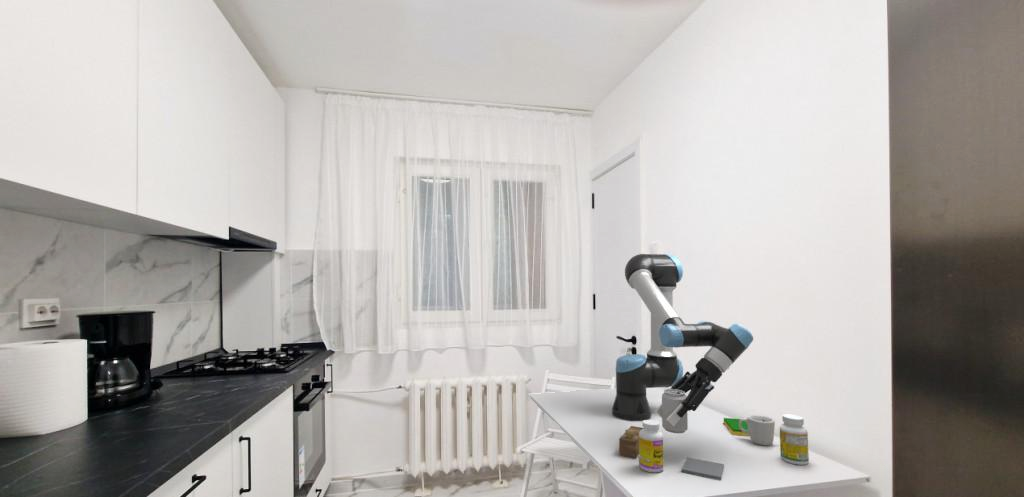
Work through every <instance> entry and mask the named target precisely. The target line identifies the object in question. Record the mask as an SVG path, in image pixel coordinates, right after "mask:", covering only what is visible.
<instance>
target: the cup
mask: <svg viewBox="0 0 1024 497" xmlns="http://www.w3.org/2000/svg"><path fill="white" fill-rule="evenodd" d="M740 419H741V420H740V421H739V428H740V430H741V431H742V432H744V433H747V434H749V435H750V436H749V438H750V440H751V442H753V443H754V444H757V445H758V446H771V445H773V443H774V438H775V436H774V435H775V425H776V421H775V419H774V418H772V417H769V416H765V415H760V414H757V415H756V414H751V415H748V416H747V417H746V418H745V417H744V418H740ZM742 422H746V423H747V425H748V429H747V430H744V429H743V427H742Z"/></svg>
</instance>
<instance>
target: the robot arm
mask: <svg viewBox="0 0 1024 497" xmlns="http://www.w3.org/2000/svg"><path fill="white" fill-rule="evenodd" d="M683 270H684V269H683V265H682V263H681V261H680V260H679V259H678V257H676V256H675V255H674V254H673V255H672V254H665V253H664V254H662V253H661V254H660V253H659V254H656V253H655V254H654V253H651V254H649V253H639V254H636V255H634V256H632V257H631V258H629V260H628V261H627V263H626V264H625V267H624V276H625V279H626V282H627V283H628V286H629V287H630V288H631V289H634V290H635V291H636V292H637V294H638V296H639V297H640V298H641V300H642V301H643V303H644V305H645V307H646V308H647V309H648V311H649V313H650V349H649V350H648V351H647V352H646V355H644V354H638V353H637V354H636V353H635V354H633V353H632V354H626V355H622V356H619V357H617V359H616V360H615V361H616V362H615V384H616V385H615V398H614V402H613V404H612V408H611V414H612V417H613V416H614V417H615V418H617V419H621V420H624V421H625V420H626V421H633V422H634V421H635V422H636V421H637V422H643V421H644V420H651V419H652V409H651V407H650V403H649V400H648V397H647V389H651V388H666V389H668V388H669V389H677V390H682V391H684V392H685V394H687V393H688V392H689V393H688V394H687V395H686V396H687V398H686V400H685V401H684V402H681V403H682V404H683V405H684V406H683V405H682V404H680V405H679V406H678V407H677V408H676V409H675V410H674V411H673V413H672V414H671V415H670V416H669V417H668V418H667V419H666V420H667V421H668V422H669V423H670V424H671V425H672V426H674V425H675V424H676V423H677V422H678V421H679V420H680V419H681V418H682V417H683V416H684V415H685V414H686V413H687V414H688V412H690V411H693V412H695V411H696V410H697V409H698V408H699V407H700V405H701V404H702V403H703V401H704V400H705V399H706V398H707V396H708V395H709V394H710V392H712V391H713V390H714V389H715V385H713V384H712V383H717V381H718V380H720V378H721V377H722V376H723V373H725V372H726V371H727V370H729V369H730V367H731V366H732V365H733V364H734V363H735V362H736V360H737V359H739V357H740V356H741V355H742V354H743V353H744V352H745V351H746V350H747V349H749V347H750V345H751V344H752V342H754V336H753V333H751V331H749V329H747V327H744V326H743V325H741V324H740V323H734V324H731V326H729V327H728V328H727V327H723V326H721V325H719V324H716V323H714V322H711V321H706V320H702V321H699V322H698V323H685V322H684V321H683V319H682V318H681V316H679V314H678V313H677V311H676V310H675V308H674V307H673V298H674V297H673V295H674V294H673V292H674V290H676V288H677V284H678V283H679V282H681V280H682V278H683V275H684V271H683ZM688 347H689V348H690V347H693V348H694V347H695V348H696V347H710V348H709V349H708V350H707V352H706V353H705V354H704V355H703V357H701V358H700V359H699V360H698V362H696V363H695V368H696V370H695V371H693V372H692V373H691V372H690V371H686V372H685V373H684V366H683V363H682V360H680V359H679V358H678V356H677V355H678V354H677V353H676V352H675V351H674V349H673V348H675V349H676V348H677V349H678V348H688ZM654 412H655V413H657V414H658V416H660V418H662V403H661V404H660V405H659V406H658V407H657V408H656V409H655V410H654Z"/></svg>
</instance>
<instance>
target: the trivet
mask: <svg viewBox="0 0 1024 497" xmlns="http://www.w3.org/2000/svg"><path fill="white" fill-rule="evenodd" d="M724 467H725V464H724V463H720V462H716V461H710V460H704V459H700V458H693V457H688V456H687V457H686V458H685V461H684V462H683V465H682V468H681V473H684V474H688V475H689V474H690V475H694V476H698V477H704V478H708V479H714V480H719V481H722V478H723V473H724V469H725V468H724Z"/></svg>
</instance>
